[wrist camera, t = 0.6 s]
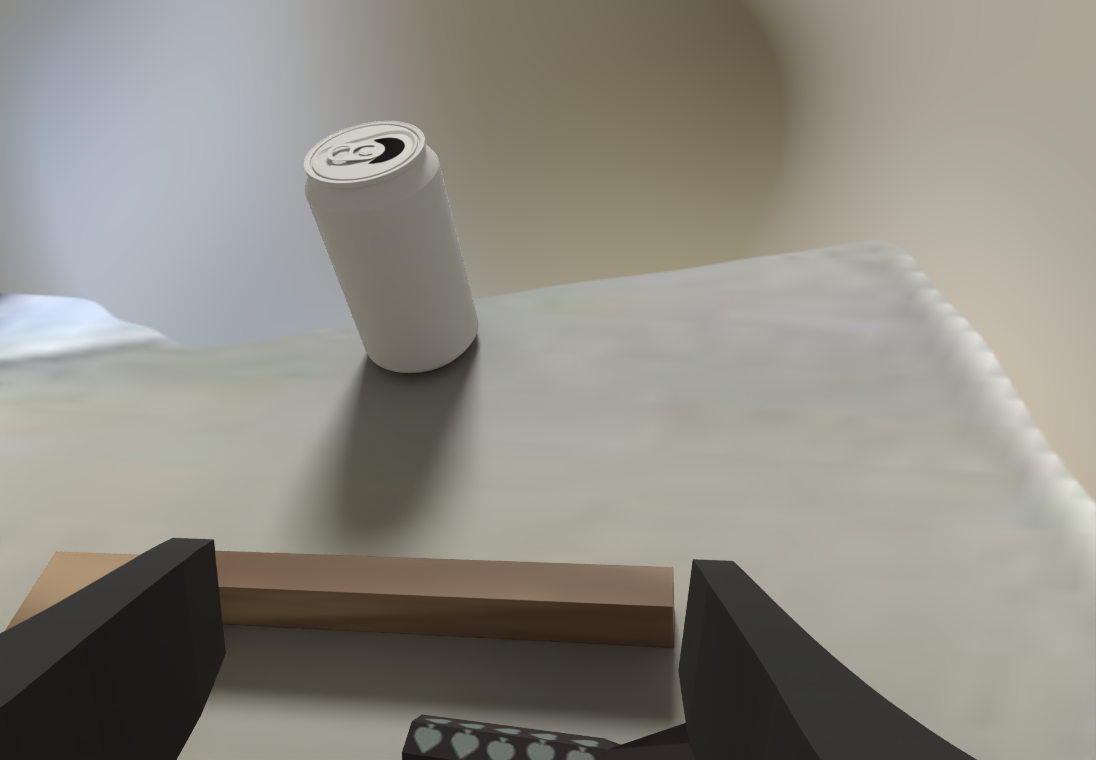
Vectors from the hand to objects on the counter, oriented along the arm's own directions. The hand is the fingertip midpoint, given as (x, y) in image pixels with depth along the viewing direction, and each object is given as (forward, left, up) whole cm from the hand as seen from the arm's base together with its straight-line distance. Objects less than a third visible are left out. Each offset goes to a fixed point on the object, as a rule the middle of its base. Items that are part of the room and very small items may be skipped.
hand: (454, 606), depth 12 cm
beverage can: (+26, +11, -18) cm, 34 cm away
